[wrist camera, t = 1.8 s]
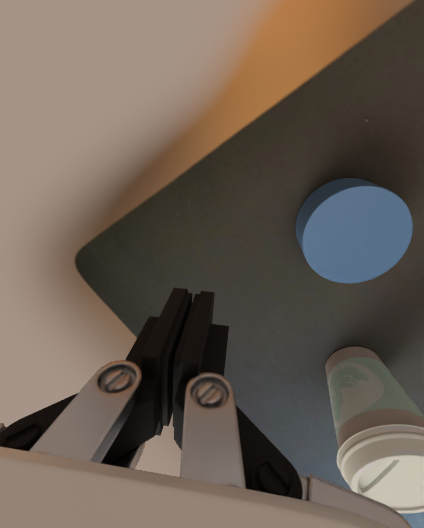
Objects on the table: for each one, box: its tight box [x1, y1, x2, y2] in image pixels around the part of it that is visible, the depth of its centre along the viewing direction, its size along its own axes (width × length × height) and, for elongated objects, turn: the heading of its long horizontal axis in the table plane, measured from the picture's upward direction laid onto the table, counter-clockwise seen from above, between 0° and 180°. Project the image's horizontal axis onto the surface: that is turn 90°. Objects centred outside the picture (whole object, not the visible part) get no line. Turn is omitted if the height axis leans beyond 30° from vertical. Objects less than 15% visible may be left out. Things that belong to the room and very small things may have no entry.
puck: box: [296, 178, 413, 283], centre depth 24 cm, size 8×8×4 cm
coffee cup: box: [325, 347, 424, 513], centre depth 26 cm, size 8×8×12 cm
